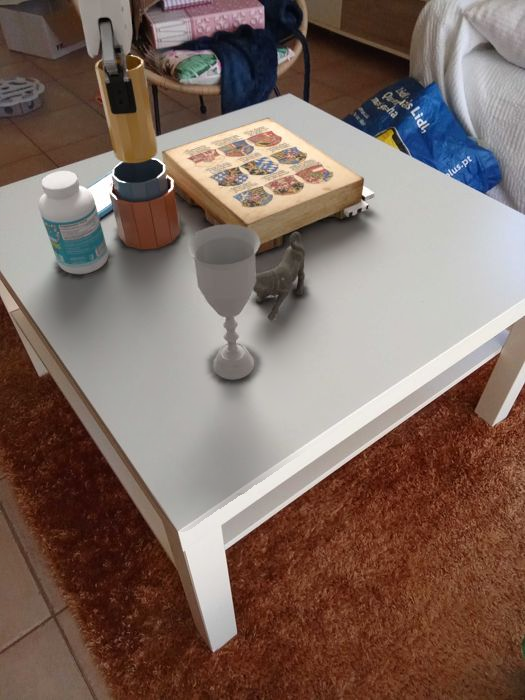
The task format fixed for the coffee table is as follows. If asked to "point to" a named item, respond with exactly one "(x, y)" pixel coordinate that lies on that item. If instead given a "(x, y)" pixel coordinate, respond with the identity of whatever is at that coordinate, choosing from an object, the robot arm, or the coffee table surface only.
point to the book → (264, 181)
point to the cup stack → (144, 204)
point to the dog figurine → (282, 276)
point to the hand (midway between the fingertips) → (125, 100)
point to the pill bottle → (72, 223)
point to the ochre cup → (131, 116)
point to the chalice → (227, 286)
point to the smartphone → (102, 194)
